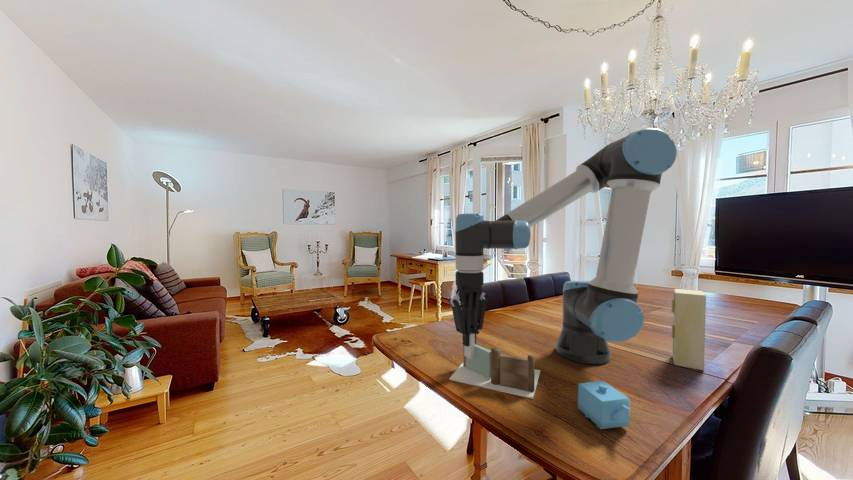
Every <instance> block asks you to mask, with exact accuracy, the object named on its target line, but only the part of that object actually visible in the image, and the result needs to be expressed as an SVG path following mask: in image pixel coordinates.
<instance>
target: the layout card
mask: <svg viewBox="0 0 853 480" xmlns="http://www.w3.org/2000/svg"><path fill="white" fill-rule="evenodd" d="M540 375H541V370H540V369H535V382H534V392H531V391H528V390H524V389H519V388H515V387H510V386H505V385H501V384H498V385H494V384H492V383H491V379H488V378H486V377H484V376H482V375H480V374H479V373H477V372H475V371H473V370H471V369H469V368H467V367H465V366H463V362H462V363H461V364H460V365H459V366H458V367H457V369H456V370H455V371H454V372H453V373H452V374H451V375H450V377H449V379H448V380H449V381H454V382H458V383H462V384H466V385H471V386H476V387H479V388H483V389H488V390H493V391H496V392H502V393H506V394H510V395H515V396H518V397H519V396H520V397H523V398H528V399H533V400H534V397H535V394H536V389H537V386H538V382H539V378H540Z"/></svg>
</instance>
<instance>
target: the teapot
mask: <svg viewBox="0 0 853 480" xmlns="http://www.w3.org/2000/svg"><path fill="white" fill-rule="evenodd" d="M577 390H578V391H577V409H578V410H579V411H581V413H583V414H584V415H585V416H584V417H585V418H586V417H587V419H589V418H590V419H589V420H590V421H592V422H593V423H594V424H595V425H596V428H597V427H599V428H601V429H604V430H607V429H614V428H623V427H627V426H628V427H629V426H630V410H631V409H632V408H631V406H630V404H631V403H630V402H631V400H630V398H629V396H627V395H625V394H623V393H622V392H620V391H619V390H618V389H616V388H614V387H613V386H612V385H610V384H609V383H607V382H605V381H603V380H601V381H600V380H599V381H587V382H581V383H578V384H577ZM599 428H598V429H599ZM601 429H600V430H601Z"/></svg>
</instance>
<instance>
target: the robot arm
mask: <svg viewBox="0 0 853 480" xmlns="http://www.w3.org/2000/svg"><path fill="white" fill-rule="evenodd" d="M677 153H678V152H677V146H676V143H675V142H674V139H673V138H671V137H670V135H669V134H668V133H667V132H665V131H663V130H662V129H659V128H655V127H654V128H653V127H646V128H642V129H639V130H635V131H631V132H630V133H628V134H627V135H625V136H623V137H622V138H619V139H617V140H615V141H613V142H611V143H609V144H607V145H605V146H603V147H602V148H601V149H600V150H599V151H597V152H596V153H594V154H593V155H592V156H590V157H589V158H588V159H587V160H585V161H583V162H582V163H581V164H579V165H577V166H576V169H575V171H574V172H572V173H570V174H569V175H567V176H566V177H564V178H562V179H561V180H559V181H558V182H556V183H554V184H552V185H551V186H550V187H547V188H546V189H544V190H543V191H541V192H539V193H537V194H536V195H534V196H533V197H531V198H530V199H528V200H526V201H525V202H523V203H522V204H520V205H518V206H517V207H515V208H514V209H511V210H510V211H508V212H507V213H505V214H503V215H502V216H500V217H499V218H497V219H496V220H491V221H490V220H485V218H484V214H482V213H477V212H476V213H472V212H471V213H470V212H469V213H460V214H458V215H457V216H455V229H454V237H455V239H454V243H455V244H454V245H455V270H457V271H456V272H455V285H456V291H455V295H454V296H453V297H451V298H448V303H449V305H450V306H451V310H452V311H451V312H452V315H453V316H452V317H453V320H454V325H455V326H454V327H455V331H456V332H457V333H460V334H462V345H464V356H466V357H468V358H470V359H473V358H475V344H476V345H477V335H479V334H480V331H481V330H483V325H484V320H485V314H486V309H487V303H488V301H489V299H490V295H489V293H488V294H487V293H485V292H484V291H483V287H482V286H483V285H484V283H485V282H484V272H483V271H484V266H485V265H484V264H485V263H484V262H485V261H484V249H488V250H490V249H498V250H499V249H501V250H502V249H503V250H505V249H506V250H519V249H527V248H528V247H529V246H530V243H531V228H532V227H534V226H536V225H538V224H539V223H541V222H543V221H544V220H546V219H547V218H548V217H551V216H552V215H554V214H555V213H557V212H559V211H560V210H563V209H564V208H565V207H567V206H569V205H571V204H572V203H574V202H575V201H577V200H579V199H580V198H582V197H584V196H586V195H588V194H589V193H593V194H594V193H597V192H599V191H600V190H602V189H605V188H606V187H609V188H610V189H611V194H610V199H609V203H608V204H609V205H608V210H607V214H606V220H605V226H604V227H605V228H604V232H603V238H602V243H601V248H600V254H599V259H598V264H597V269H596V273H595V277H594V278H592V279H591V280H568V281H565V282H564V283H563V288H562V327H561V331H560V334H559V335H558V338H557V341H556V345H555V346H556V349H555V350H556V352H557V354H558V355H559V356H561V358H564V359H567V360H569V361H572V362H577V363H580V364H588V365H601V364H608V362H610V361H611V349H610V346H609V342H612V343H621V342H627V341H629V340H630V339H632V338H635V337H636V336H637V335H638V334H639V333H640V331H641V330H642V329H643V326H644V322H645V316H644V312H643V310H642V309H641V307H640V306H639V304H638V298H639V294H640V293H639V291H638V289H637V288H636V286H635V285H634V281H635V276H636V271H637V267H638V262H639V261H638V260H639V256H640V250H641V244H642V240H643V236H644V229H645V225H646V218H647V214H648V207H649V203H650V199H651V193H652V192H653V191H655V190H656V189H658V188H659V187H660V185H661V179H662V176H663V175H662V174H664V173H665V172H667V171H668V170H669V169H670V168H672V166H674V163H675V162H676V158H677V155H678V154H677ZM608 341H609V342H608Z"/></svg>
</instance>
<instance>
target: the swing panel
mask: <svg viewBox="0 0 853 480" xmlns="http://www.w3.org/2000/svg"><path fill="white" fill-rule="evenodd" d="M462 345H463V344H462ZM462 354H463V355H462V356H463V357H462V359H463V360H462V363H463V366H465V367H467V368H469V369H471V370H473V371H475V372H477V373H479V374H480V375H482V376H484V377H486V378H488V379H491V349H488V348H486V347H483V346H480V345H479V344H477V343H476V344H475V358H473V359H470V358H468V357H466V356H464V345H463V346H462Z"/></svg>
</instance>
